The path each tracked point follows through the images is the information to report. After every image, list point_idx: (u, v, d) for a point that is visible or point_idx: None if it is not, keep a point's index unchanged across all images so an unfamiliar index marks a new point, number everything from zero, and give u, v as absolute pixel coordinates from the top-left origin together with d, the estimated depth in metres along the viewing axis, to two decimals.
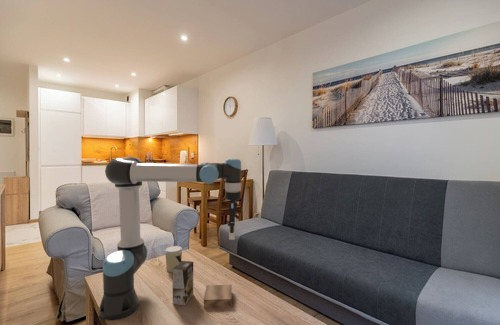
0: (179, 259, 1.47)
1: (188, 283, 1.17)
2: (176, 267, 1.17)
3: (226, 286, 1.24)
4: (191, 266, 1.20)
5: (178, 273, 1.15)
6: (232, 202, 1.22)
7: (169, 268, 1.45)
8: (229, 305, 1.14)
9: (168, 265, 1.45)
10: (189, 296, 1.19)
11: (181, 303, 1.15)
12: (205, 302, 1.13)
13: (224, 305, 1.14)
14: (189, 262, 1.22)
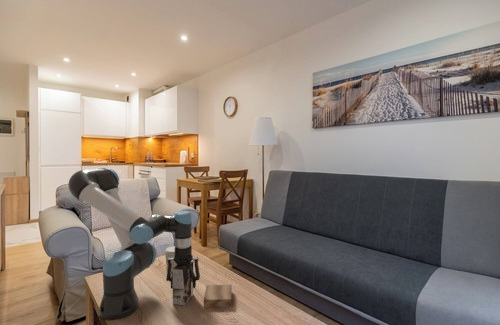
0: None
1: (188, 283, 1.17)
2: (176, 267, 1.17)
3: (226, 286, 1.24)
4: (191, 266, 1.20)
5: (178, 273, 1.15)
6: (174, 256, 1.19)
7: None
8: (229, 305, 1.14)
9: None
10: (189, 296, 1.19)
11: (181, 303, 1.15)
12: (205, 302, 1.13)
13: (224, 305, 1.14)
14: None
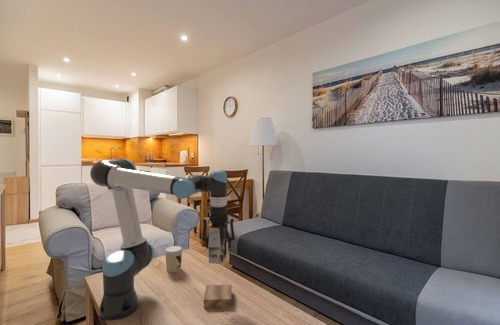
0: (179, 259, 1.47)
1: (224, 242, 1.16)
2: (212, 226, 1.16)
3: (226, 286, 1.24)
4: (226, 226, 1.19)
5: (215, 231, 1.14)
6: (210, 215, 1.18)
7: (169, 268, 1.45)
8: (229, 305, 1.14)
9: (168, 265, 1.45)
10: (225, 256, 1.18)
11: (217, 262, 1.14)
12: (205, 302, 1.13)
13: (224, 305, 1.14)
14: None
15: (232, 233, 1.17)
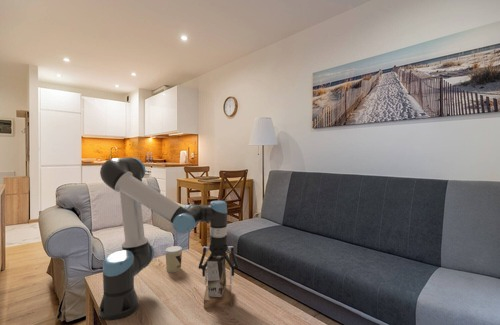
0: (179, 259, 1.47)
1: (222, 274, 1.17)
2: (210, 259, 1.17)
3: (226, 286, 1.25)
4: (224, 258, 1.21)
5: (213, 265, 1.15)
6: (210, 245, 1.18)
7: (169, 268, 1.45)
8: (229, 305, 1.14)
9: (168, 265, 1.45)
10: (224, 288, 1.19)
11: (217, 295, 1.15)
12: (205, 302, 1.14)
13: (224, 305, 1.14)
14: None
15: (234, 261, 1.18)
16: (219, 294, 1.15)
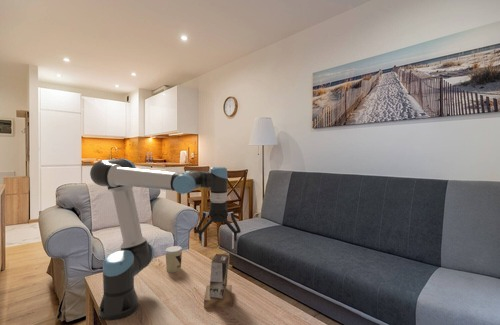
0: (179, 259, 1.47)
1: (225, 276, 1.17)
2: (214, 260, 1.16)
3: None
4: (227, 259, 1.20)
5: (217, 266, 1.14)
6: None
7: (169, 268, 1.45)
8: (229, 305, 1.14)
9: (168, 265, 1.45)
10: (225, 289, 1.19)
11: (218, 296, 1.15)
12: (205, 302, 1.14)
13: (224, 305, 1.14)
14: (225, 255, 1.21)
15: (236, 226, 1.17)
16: (220, 295, 1.15)
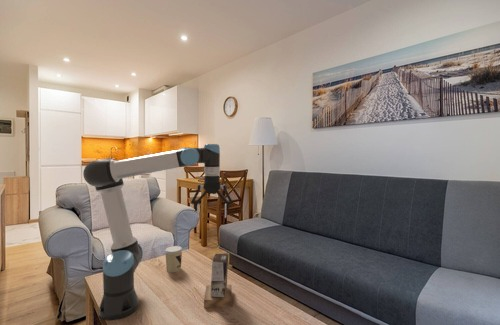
0: (179, 259, 1.47)
1: (226, 275, 1.18)
2: (215, 260, 1.16)
3: None
4: (227, 258, 1.21)
5: (218, 265, 1.15)
6: (204, 184, 1.30)
7: (169, 268, 1.45)
8: (229, 305, 1.14)
9: (168, 265, 1.45)
10: (225, 288, 1.20)
11: (220, 295, 1.15)
12: (205, 302, 1.14)
13: (224, 305, 1.14)
14: (224, 254, 1.22)
15: (228, 197, 1.29)
16: (222, 294, 1.15)
